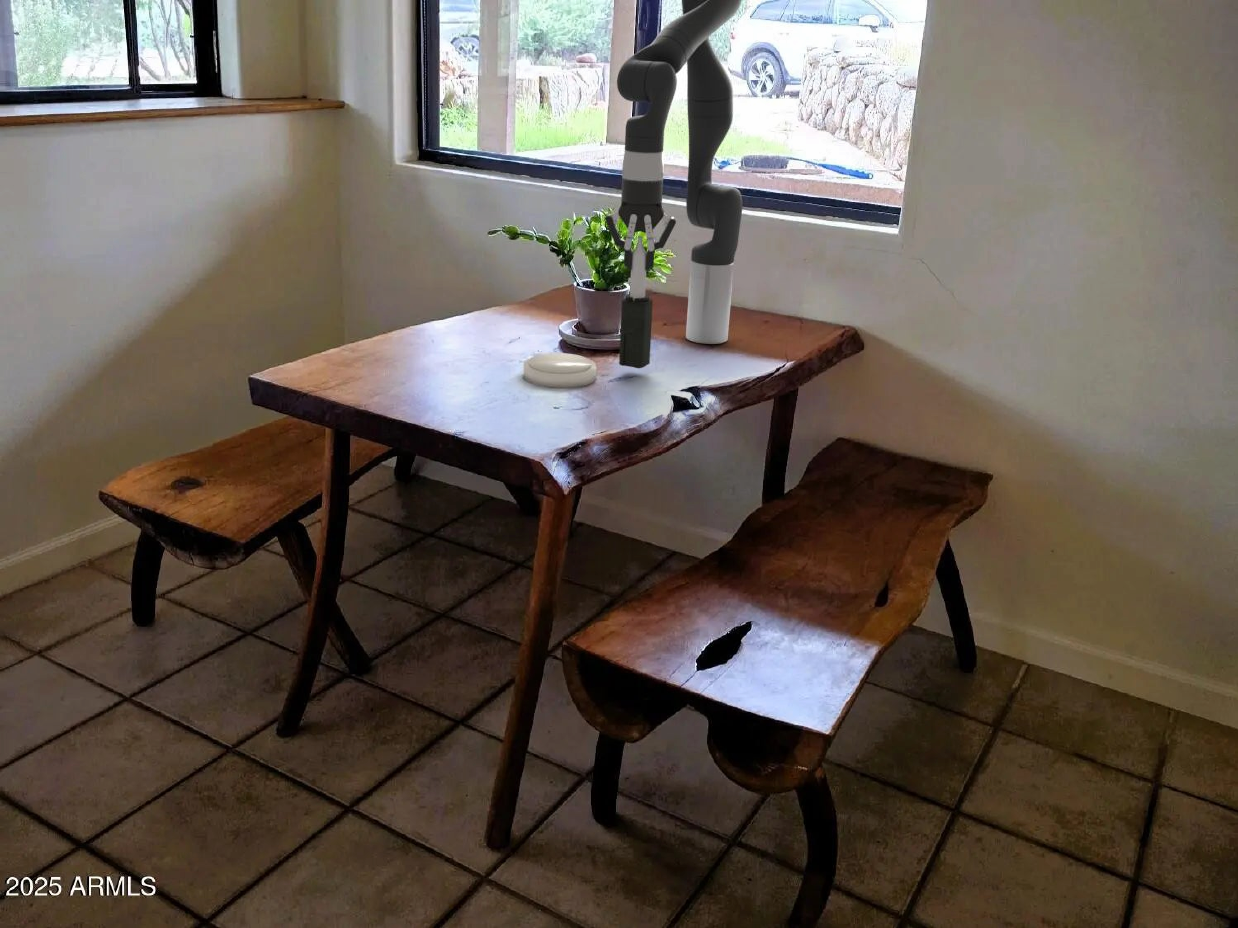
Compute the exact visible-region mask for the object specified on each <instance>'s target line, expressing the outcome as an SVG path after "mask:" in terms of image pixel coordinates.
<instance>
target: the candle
mask: <svg viewBox="0 0 1238 928" xmlns="http://www.w3.org/2000/svg"><path fill="white" fill-rule="evenodd" d="M646 260H647V250H645V247H644V242H643V236H642V235H638V237H637V242H636V245H635V248H634V249H633V250H632V262H631V270H630V283H629V286H630V287H629V294H628V293H627V294H625V298H623V299H621V306H620V307H621V308H620V309H621V310H620V311H621V312H620V329H619V330H620V335H619V336H620V338H619V359H618V364H619V366H621V367H622V366H623V367H629V368H630V367H631V368H635V369H642V368H645V367H646V366H648V365H649V364H650V363H651V362H650V361H651V345H652V344H651V341H652V340H651V339H652V323H653V321H652V320H653V305H654V301H653V298H650V296H649V295H647V294H646V287H647V286H646V283H647V271H646Z"/></svg>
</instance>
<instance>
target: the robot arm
mask: <svg viewBox="0 0 1238 928" xmlns="http://www.w3.org/2000/svg"><path fill="white" fill-rule="evenodd" d="M742 2H743V0H681V8H682V15H681V16H679V17H677V18H675V19H673V20H671V21H670V22H669V23H668V24H666V25H665V27H663V28H662V29H661V30H660V32H659V33H658V34H657V36H656V37H655V38H654V40H653V41H652V42H651V44H648V45H647V46H645V47H644V48H642V49H641V50H639V51H638V52H635V53H634V54H633V55H632V56H630V57H629V58H627V59H626V60H625V61H624V63H623V64H622V65H621V67H620V69H619V71H618V73H617V74H618V75H617V77H616V78H617V79H616V87H617V90H618V91H617V92H618V93H619V94H620V96H621V97H622V98H623V99H625V100H626V101H629V102H634V103H647V104H649V108H648V110H647V112H646V113H645V114H643V115H636V116H635V115H634V116H632V117H631V116H630V118H628V119H627V120H626V124H625V131H624V132H625V135H624V137H625V138H624V154H623V160H622V170H621V175H622V176H621V178H622V179H621V202H620V206H619V208H618V211H616V212H613V213H608V214H606V216H605V222H606V225H607V228H608V230H609V232H610V235H611V237H612V240H613V242H614V244H615V246H616V247H620V248H622V249H623V251H624V253H623V254H624V256H623V257H624V259H623V264H624V267H625V268H627V269H626V270H627V271H631V262H632V252H633V248H632V244H633V243H632V242H633V239H634V233H638V232H641V233H644V234H645V235H646V243H647V249H646V253H647V260H646V272H648V271H649V272H650V270H651V269H653V267H654V264H655V252H656V251H657V250H659V249H663V248H664V247H665V246H666V243H667V241H668V239H669V237H670V235H671V234H672V232H673V230H674V228H675V226H676V224H677V218H676V217H675V216H669V215H668V214H667V213H665V211H664V208H663V206H662V205H663V187H664V175H665V173H664V169H665V167H664V166H665V161H664V141H665V139H664V138H665V128H666V124H667V120H668V117H669V112H670V109H671V106H672V104H673V100H674V97H675V95H676V91H677V86H678V85H677V83H678V80H677V74H678V73H679V72H680V71H681V70H682V68H683V67H684V66H685V64H686V65H687V67H686V68H687V69H686V70H687V71H686V72H687V73H686V75H687V77H686V78H687V81H686V82H687V84H686V85H687V91H686V92H687V93H686V94H687V96H686V97H687V99H686V101H687V102H686V105H687V125H688V126H687V127H688V169H687V182H686V183H687V184H686V196H685V197H686V200H685V201H686V202H685V203H686V206H685V207H686V217H687V219H688V220H689V223H690V224H691V225H693V226H695V227H698V228H701V229H702V228H703V229H710V230H713V232H712V238H711V240H709V241H708V242H704V243H700V244H696V245H694V246H693V247H692V250H691V255H690V270H689V283H688V285H689V287H688V299H687V300H688V302H687V316H686V331H685V339H686V340H688V341H691V342H693V343H697V344H706V345H707V344H708V345H710V344H711V345H715V344H718V345H719V344H723V343H725V342H727V341H728V337H729V328H730V314H731V304H732V303H731V301H732V292H733V291H732V290H733V280H734V278H733V276H734V264H735V263H734V262H735V255H736V252H737V249H738V245H739V237H740V230H741V229H740V228H741V221H742V215H743V198H742V194H741V191H740V190H739V189H738V188H736V187H733V186H729V185H721V184H716V183H714V184H713V182H712V179H713V178H712V172H713V171H712V169H713V161H714V158H715V156H716V155H717V152H718V150H719V148H720V146H721V144H722V143H723V141H724V139H725V138H726V136H727V134H729V133H728V132H729V130H730V129H731V127H732V124H733V118H734V90H733V84H732V82H731V79H730V76H729V75H728V73H727V70H726V69H725V66H723V64H722V62H721V61H720V58H719V57H718V56H717V53H716V52H715V50H714V48H713V45H712V43H711V40H710V36H712V35H713V34H714V33H715V32H716V31H717V30H718V29H720V28H721V27H722V26H723V25H725V24H726V23H727V22H728V21H729V20H731V19H732V17H734V16H735V15H736V14H737V12H738V11H739V9H740V7H741V5H742ZM619 218H620V219H621V221H622V223H623V224H624V226H625V227H626V228H627V231H626V232H627V233H626V236H625V239H623V238H622V237H621V234H620V232H619V229H618V226H617V225H618V223H619ZM661 220H663V222H662V223H663V224H662V226H663V227H664V229H663V232H662V234H661V235H660V237H659V239H658V240H657V241H656V240H655V237H654V236H655V235H654V229H655V228H656V226H657V225H658V224H659V223H660V222H661Z"/></svg>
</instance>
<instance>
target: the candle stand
mask: <svg viewBox="0 0 1238 928" xmlns="http://www.w3.org/2000/svg"><path fill="white" fill-rule="evenodd" d="M523 379H524V380H525V381H527V382H529V383H531V384H533V385H535V386H536V385H537V386H540V387H546V388H556V389H570V388H580V387H585V386H587V385H590V384H593V383H594V382H595V381H596V379H597V364H596V362H594V361H593V360H591V359H589V358H587V357H585V356H582V355H579V354H573V353H565V352H550V353H541V354H537V355H534V356H532V357H530V358H528V359H526V360H524V361H523Z"/></svg>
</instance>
